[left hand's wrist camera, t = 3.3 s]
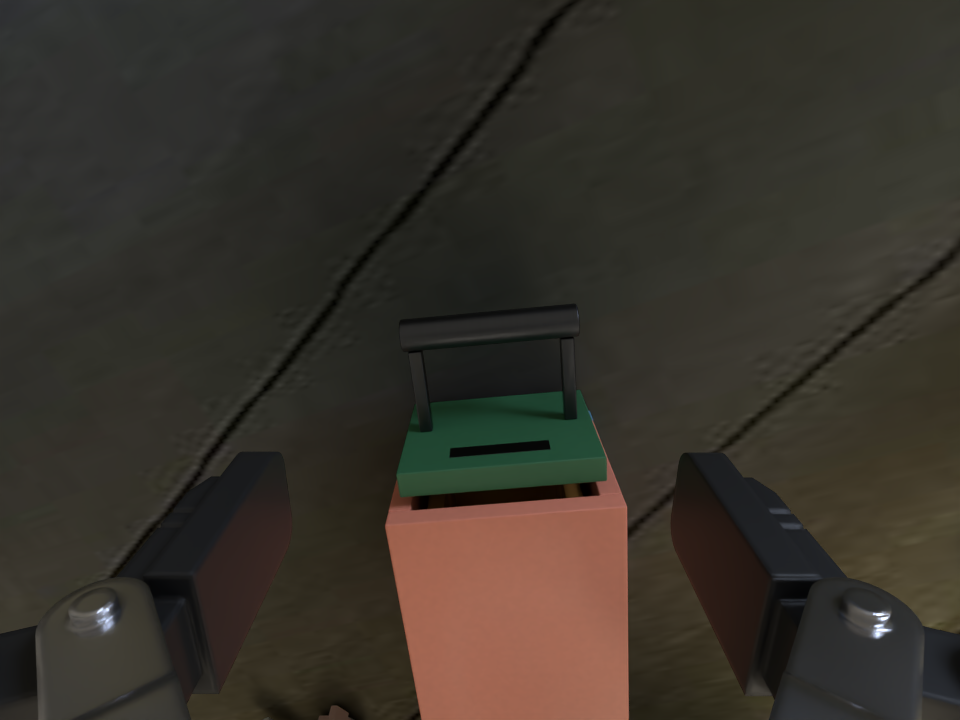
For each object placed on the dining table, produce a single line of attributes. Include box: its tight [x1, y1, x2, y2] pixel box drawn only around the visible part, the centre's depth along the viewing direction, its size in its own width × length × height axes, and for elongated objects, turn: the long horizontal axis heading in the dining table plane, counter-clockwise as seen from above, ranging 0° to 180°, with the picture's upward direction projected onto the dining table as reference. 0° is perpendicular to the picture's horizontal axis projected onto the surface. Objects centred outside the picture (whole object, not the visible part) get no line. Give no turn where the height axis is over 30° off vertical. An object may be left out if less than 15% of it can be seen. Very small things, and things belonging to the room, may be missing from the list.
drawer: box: [396, 304, 607, 509], centre depth 28 cm, size 18×9×7 cm, turn 6°
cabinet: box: [385, 411, 629, 720], centre depth 30 cm, size 14×10×9 cm
